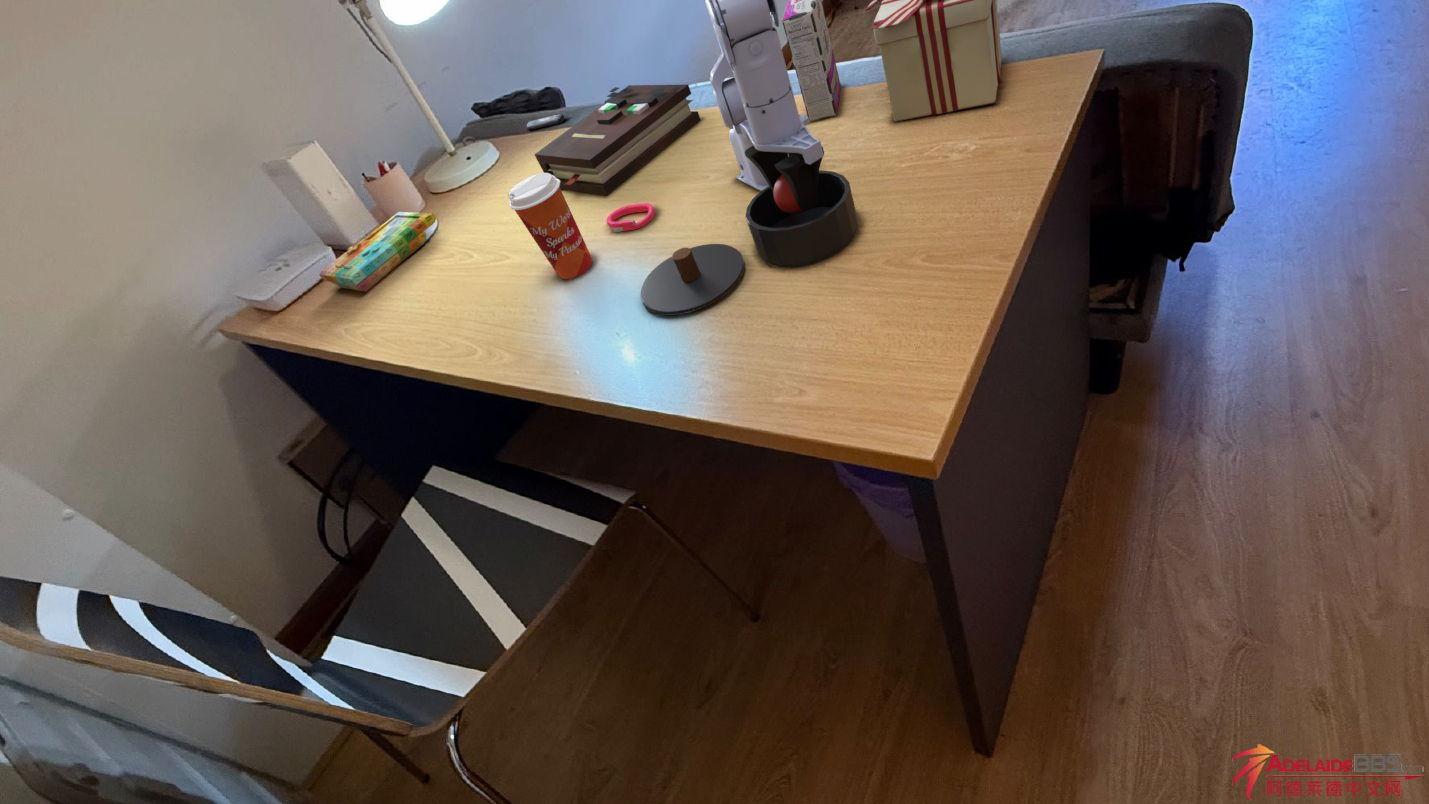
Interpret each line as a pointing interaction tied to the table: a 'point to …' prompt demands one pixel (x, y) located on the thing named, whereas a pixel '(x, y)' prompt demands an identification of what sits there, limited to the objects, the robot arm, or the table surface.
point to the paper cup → (551, 224)
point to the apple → (785, 197)
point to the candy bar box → (812, 57)
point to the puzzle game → (379, 251)
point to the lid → (692, 279)
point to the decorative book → (618, 137)
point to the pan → (804, 224)
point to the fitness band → (630, 223)
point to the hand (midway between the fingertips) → (796, 200)
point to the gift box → (938, 54)
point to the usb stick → (545, 121)
